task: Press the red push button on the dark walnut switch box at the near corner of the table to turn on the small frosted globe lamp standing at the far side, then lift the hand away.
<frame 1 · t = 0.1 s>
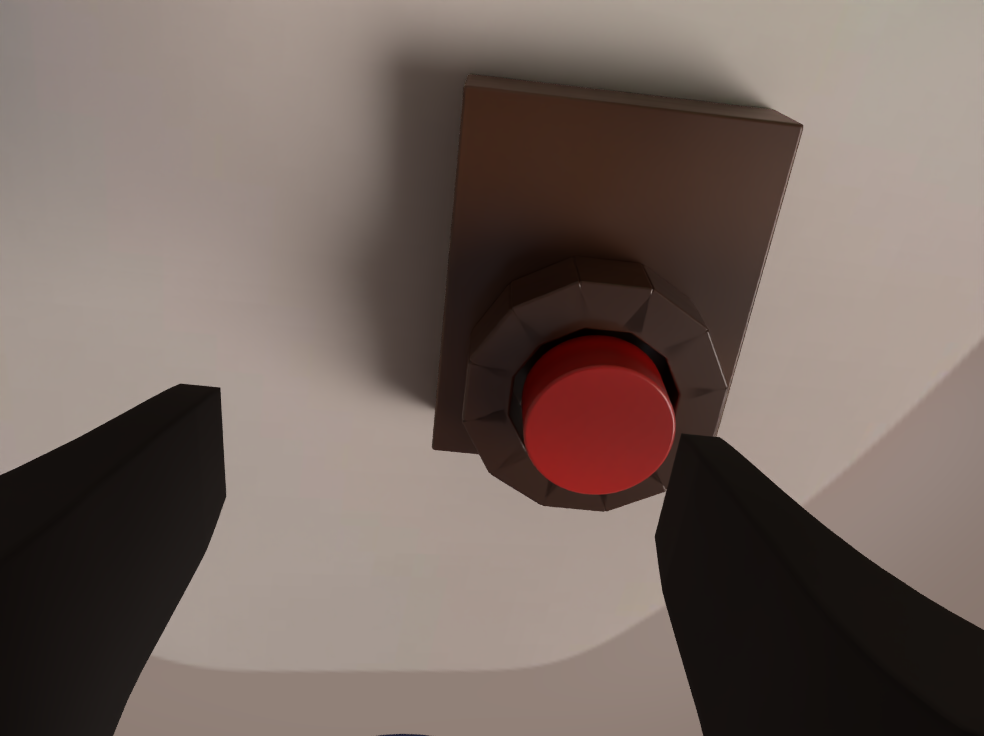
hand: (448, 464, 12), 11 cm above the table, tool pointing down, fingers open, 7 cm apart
light button: (595, 414, 19), point 4 cm above the table, slide at 0.1 cm
switch box: (590, 274, 22), on the table
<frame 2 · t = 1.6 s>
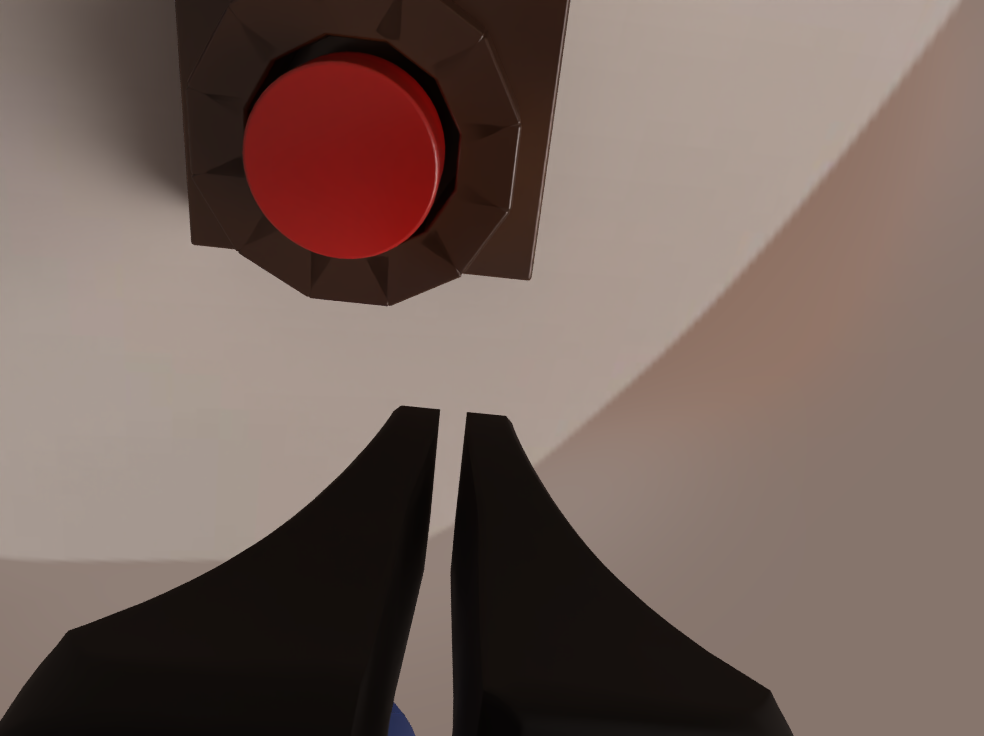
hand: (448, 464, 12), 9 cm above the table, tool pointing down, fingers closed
light button: (348, 156, 15), point 4 cm above the table, slide at 0.1 cm
switch box: (384, 27, 18), on the table
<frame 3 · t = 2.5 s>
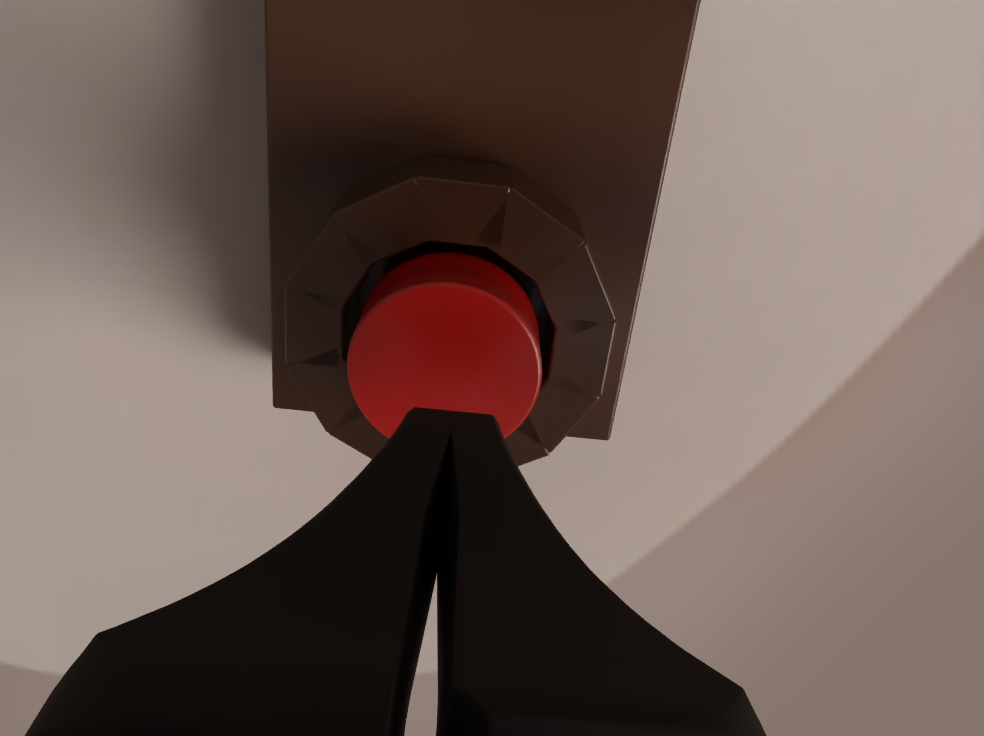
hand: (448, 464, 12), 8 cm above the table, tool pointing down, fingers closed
light button: (447, 354, 15), point 4 cm above the table, slide at 0.1 cm
switch box: (465, 193, 18), on the table
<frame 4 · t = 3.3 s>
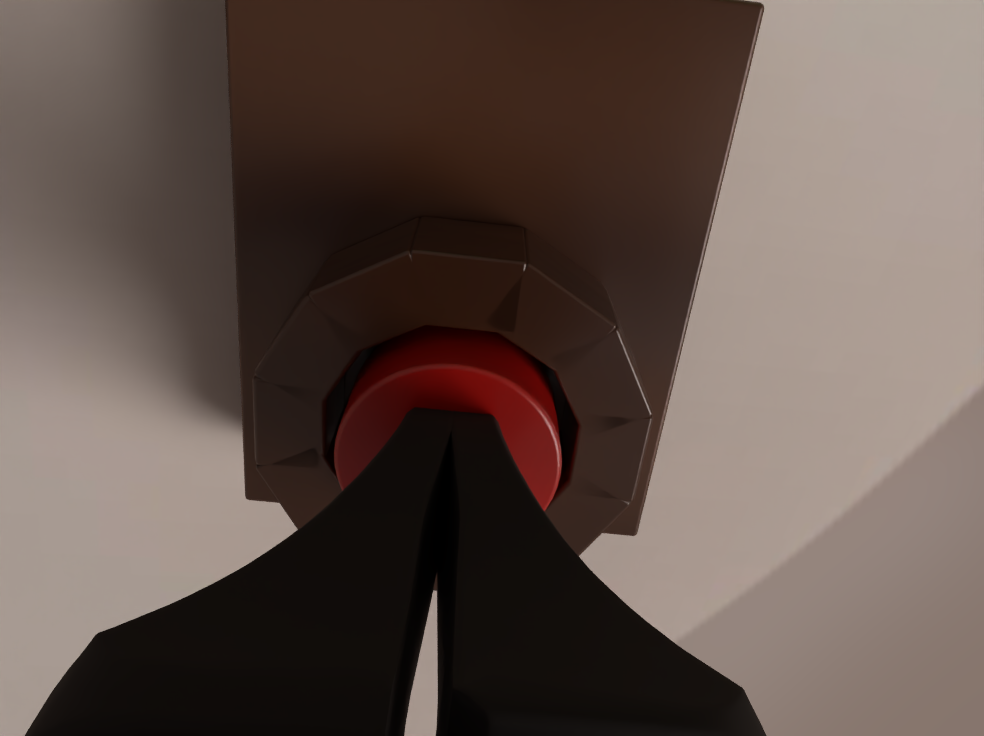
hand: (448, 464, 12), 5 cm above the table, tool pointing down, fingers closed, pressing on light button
light button: (450, 437, 13), point 4 cm above the table, slide at -0.5 cm, touching gripper
switch box: (470, 250, 16), on the table
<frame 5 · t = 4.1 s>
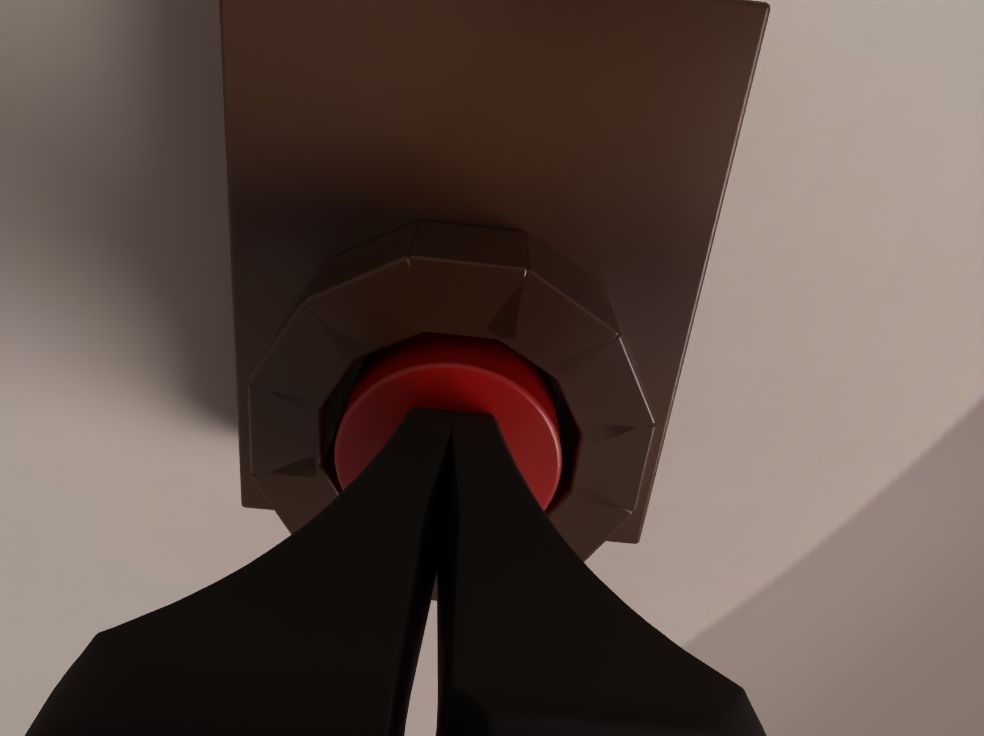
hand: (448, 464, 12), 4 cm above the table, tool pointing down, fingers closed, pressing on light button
light button: (450, 436, 13), point 4 cm above the table, slide at -0.8 cm, touching gripper
switch box: (469, 253, 15), on the table
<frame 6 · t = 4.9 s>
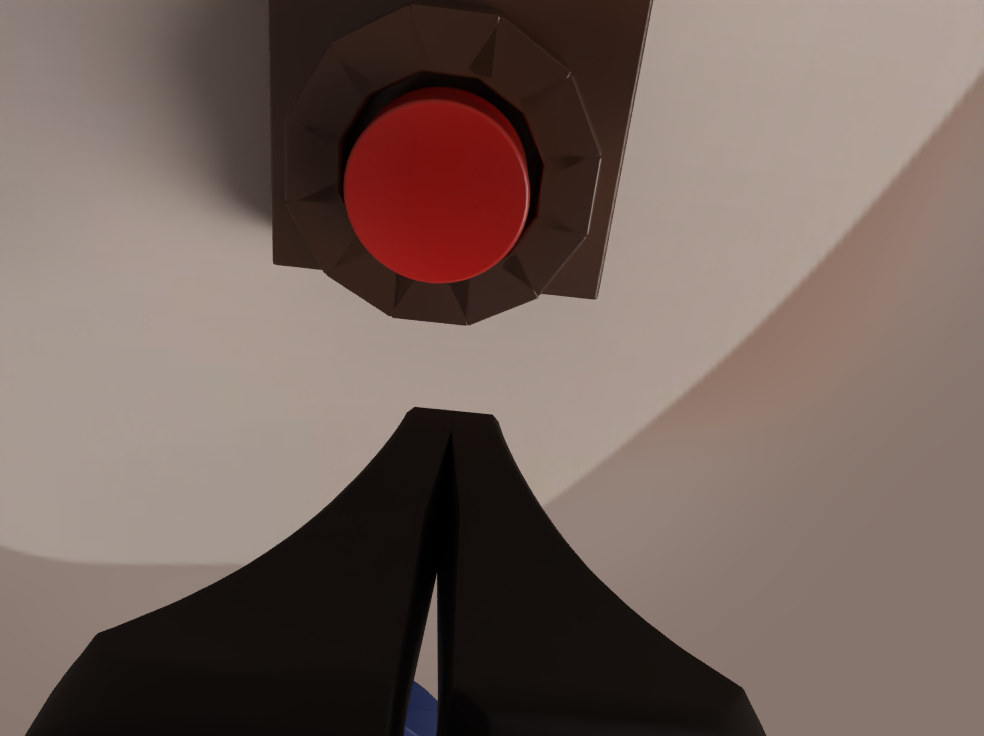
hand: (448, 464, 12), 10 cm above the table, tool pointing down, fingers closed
light button: (439, 185, 16), point 4 cm above the table, slide at 0.1 cm
switch box: (459, 56, 19), on the table
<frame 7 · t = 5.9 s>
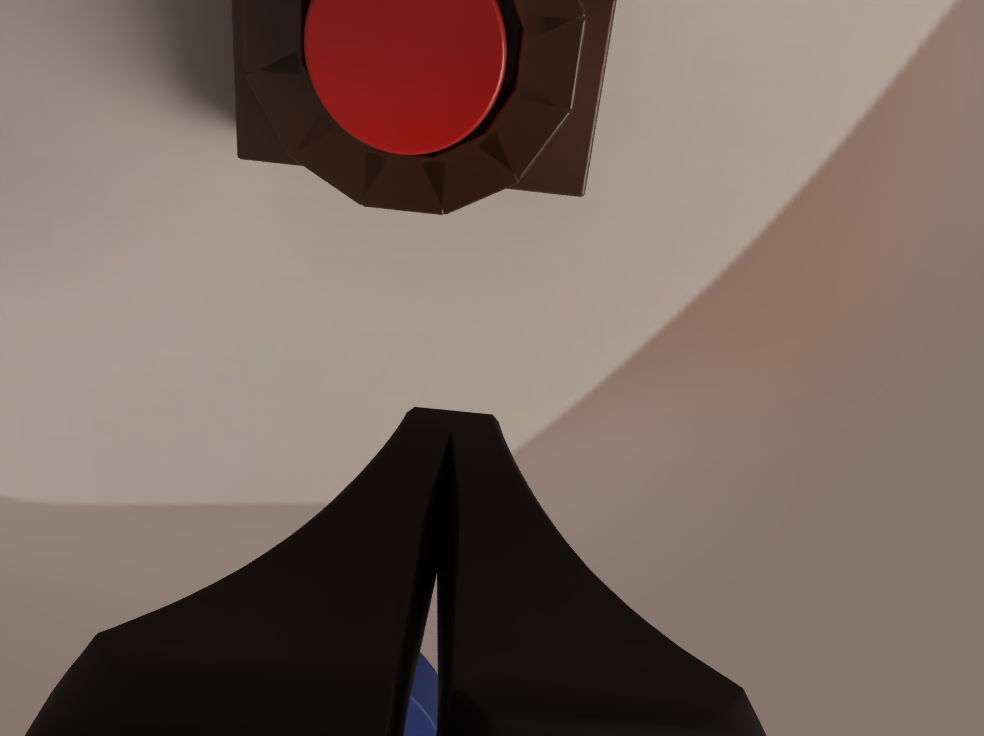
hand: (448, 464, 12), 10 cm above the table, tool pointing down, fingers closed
light button: (409, 48, 15), point 4 cm above the table, slide at 0.1 cm
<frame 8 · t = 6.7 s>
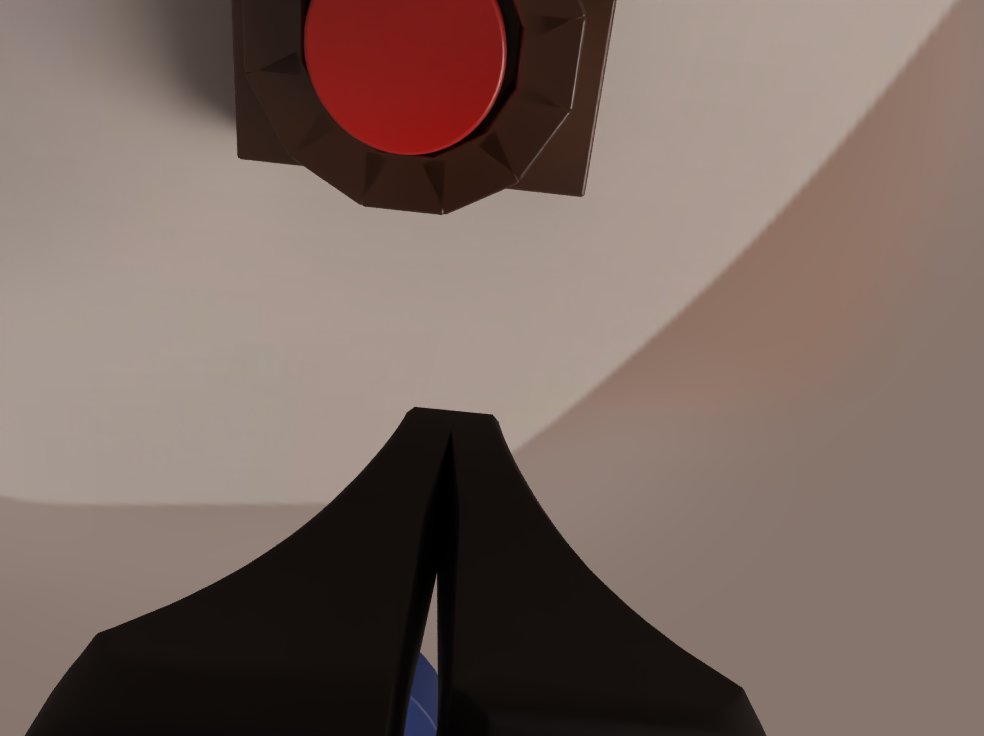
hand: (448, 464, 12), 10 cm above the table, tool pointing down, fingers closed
light button: (409, 48, 15), point 4 cm above the table, slide at 0.1 cm
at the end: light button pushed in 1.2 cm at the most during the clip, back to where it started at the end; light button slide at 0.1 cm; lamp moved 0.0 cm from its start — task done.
